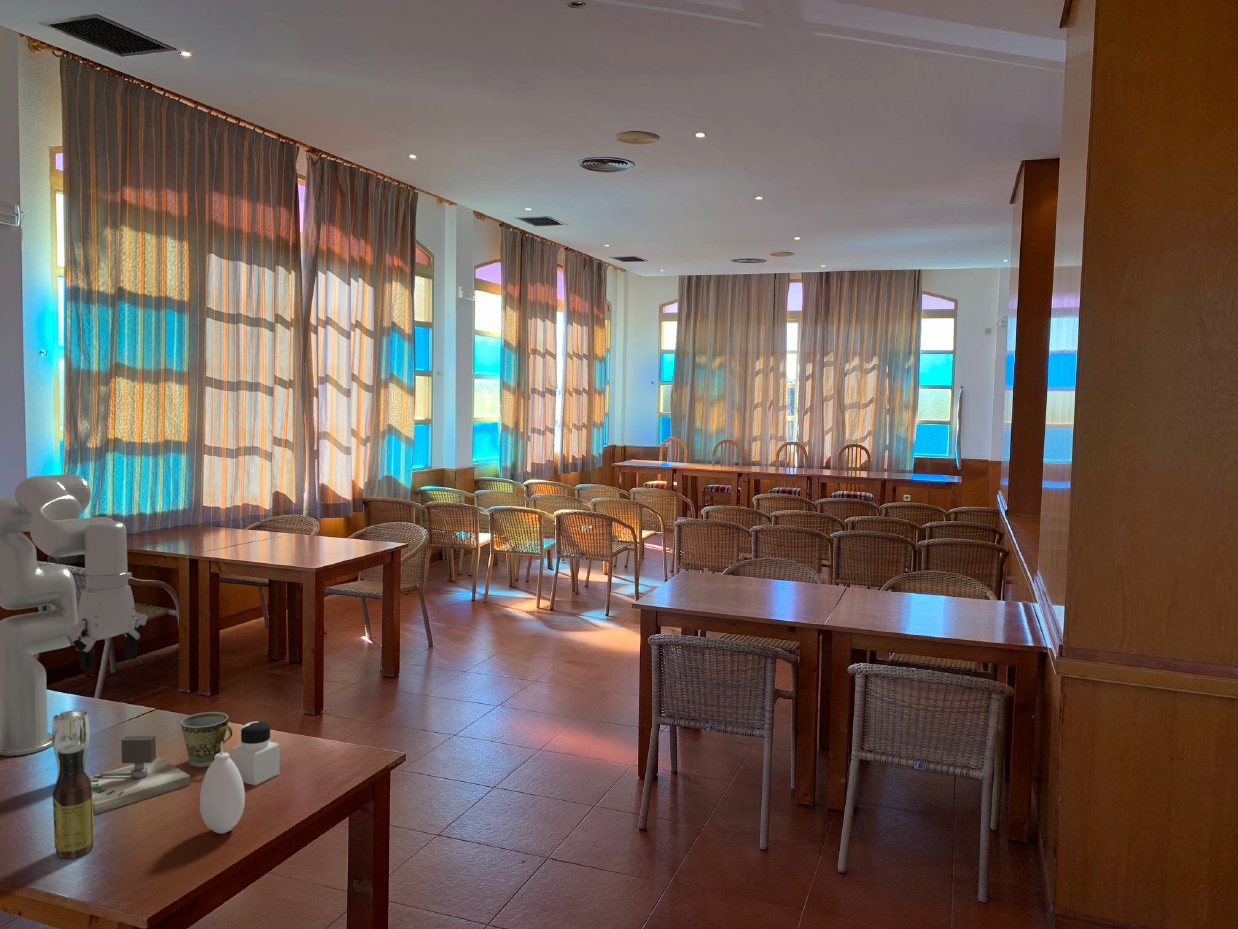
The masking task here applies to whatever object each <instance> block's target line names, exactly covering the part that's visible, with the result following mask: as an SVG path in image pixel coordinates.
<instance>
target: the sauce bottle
mask: <svg viewBox="0 0 1238 929" xmlns="http://www.w3.org/2000/svg"><path fill="white" fill-rule="evenodd" d="M83 755H84V747H83V746H82V745H69V746H66V747H63V748H61V749H59V751H58V758H59V761H60V771H59V773H60V774H59V777H58V780H57V779H56V780H57V782H55V785H54V788H53V791H52V808H53V809H52V810H53V811H52V812H53V833H54V834H53V835H54V849H55V853H56V856H57V857H58V858H61V859H74V858H80V857H84V856H85V855H86V854H88V853H89V852H90V851H92V850H93V848H94V841H95V840H94V839H95V826H94V825H95V822H94V813H93V795H92V788H91V780H90V778H89V777H90V776H89V774H88V775H87V774H86V773H85V772H84V771H83V770H84V766H83Z"/></svg>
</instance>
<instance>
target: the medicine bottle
mask: <svg viewBox="0 0 1238 929" xmlns="http://www.w3.org/2000/svg"><path fill="white" fill-rule="evenodd" d="M231 760H232V761H233V762H234V763H235V765H236V767H237V768H238V770H239V773H240V775H241V778H242V781H243V782H244V783H243V784H247V785H252V786H255V787H257V785H260V784H262V783H263V782H266V781H268V780H270V779H272V778H274V777H276V776H278V775H280V744H279V743H278V742H273V741H271V725H270V724H269V723H268V722H265V721H261V720H260V721H251V722H247V723H246V724H244V725H242V727H241V728H240V744H239V745H238V746H235V747H232V748H231Z"/></svg>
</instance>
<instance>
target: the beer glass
mask: <svg viewBox="0 0 1238 929" xmlns="http://www.w3.org/2000/svg"><path fill="white" fill-rule="evenodd" d="M90 728H91V727H90V718H89V712H88V711H87V710H83V709H75V710H74V709H73V710H68V711H63V712H60V713H57V714H54V716H53V717H52V731H51V734H52V742H53V745H52V747H53V753H54V757H55V760H56V765H57V776H56V782H57V780H58V777H59V774H60V773H59V771H60V761H59V758H58V751H59V749H61V748H63V747H66V746H69V745H82V746H83V747H84V755H83V766H84V770H83V771H84V772H85V773H86V774H87V775H88V776H89V774H88V771H87V770H88V769H87V758H88V751H89V747H90V740H91V736H90V734H91V732H90V731H91V729H90ZM56 782H55V783H56Z"/></svg>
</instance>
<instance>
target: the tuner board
mask: <svg viewBox="0 0 1238 929" xmlns="http://www.w3.org/2000/svg"><path fill="white" fill-rule="evenodd" d="M144 767H147V768H148V774H147V776H145V777H142V778H131V776H100V773H98V774H95V775H92V776H89V778H90V780H91V788H92V795H93V814H94V815H97V814H102V813H104V812H107V811H111V810H114V809H116V808H120V807H123V806H126V804H127V805H129V804H133V803H136V801H137V802H139V801H142V800H146V799H149V798H152V797H156V796H158V795H162V794H165V793H170V792H171V791H175V790H178V789H181V788H185V787H188V786H190V785H191V775H190V774H188V773H186V772H185V771H184V770H181V769H180V768H178V767H176V766H175V765H173V764H172V763H170V762H168V761H167V760H166V759H164V758H162V757H161V756H159V757H156V759H155V760H154V761H153V762H151V763H144ZM132 769H134V764H131V765H130V764H129V765H126V766H124V767H120V768H116V769H114V770H109V771H106V772H104V773H119V772H131V770H132ZM132 802H133V803H132Z"/></svg>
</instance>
